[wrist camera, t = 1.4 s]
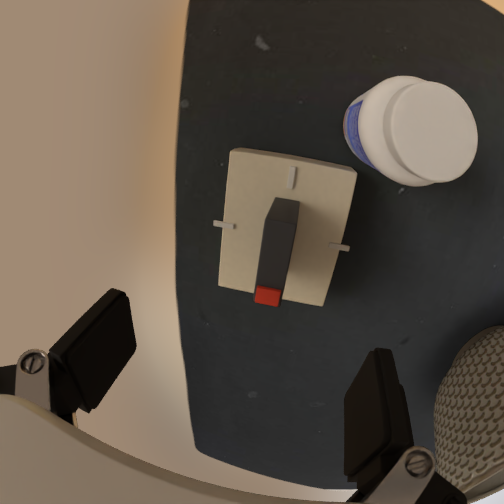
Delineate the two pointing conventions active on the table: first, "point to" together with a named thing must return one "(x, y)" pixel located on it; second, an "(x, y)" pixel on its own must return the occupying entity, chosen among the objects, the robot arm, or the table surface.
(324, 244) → the dial panel
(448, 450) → the planter
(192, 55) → the table surface
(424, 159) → the pill bottle
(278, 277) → the program dial
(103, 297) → the robot arm
